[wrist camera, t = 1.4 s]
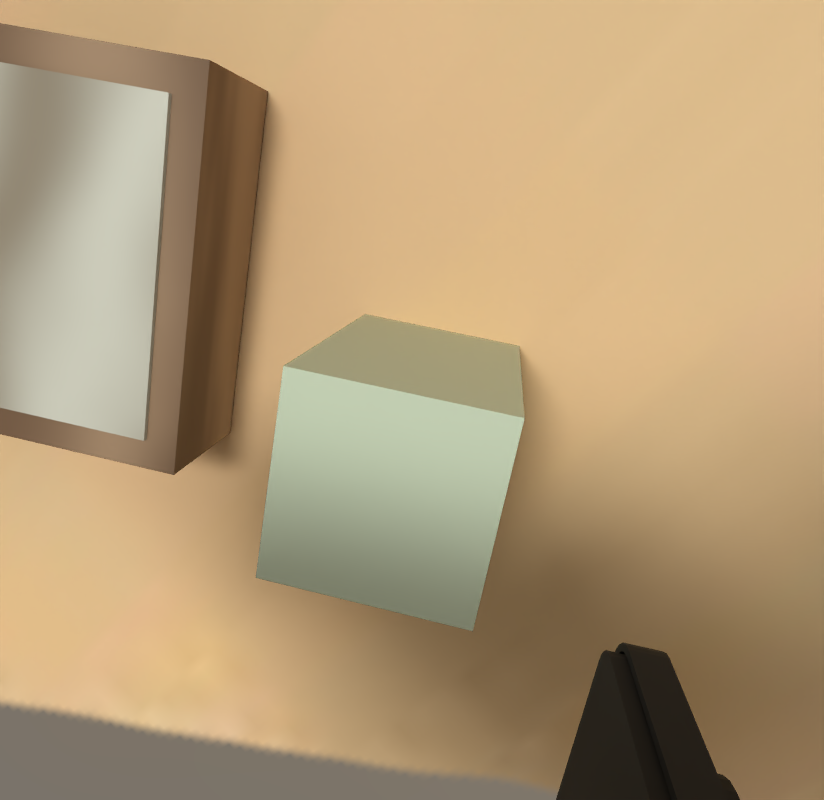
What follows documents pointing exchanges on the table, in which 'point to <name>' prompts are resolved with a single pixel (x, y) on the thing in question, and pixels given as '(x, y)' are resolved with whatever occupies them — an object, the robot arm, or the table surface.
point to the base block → (122, 245)
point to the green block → (393, 468)
